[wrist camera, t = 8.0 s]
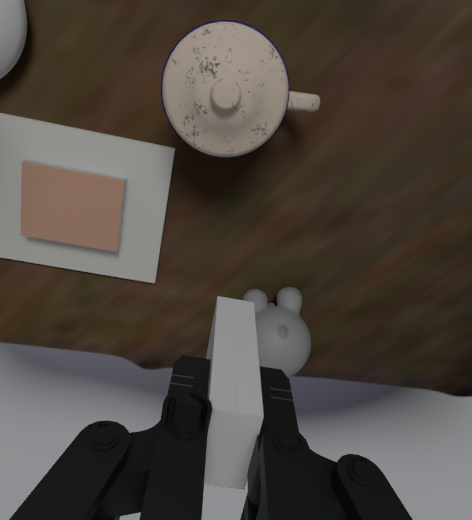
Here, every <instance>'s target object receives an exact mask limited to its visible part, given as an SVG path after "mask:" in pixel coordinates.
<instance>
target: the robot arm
mask: <svg viewBox="0 0 472 520" xmlns="http://www.w3.org/2000/svg"><path fill="white" fill-rule="evenodd" d="M247 478H248V493H247V497H246V501H245V504H244V508H243V512H242V516H241V520H412V518H411V517H410V515H409V514H408V512H407V510H406V509H405V507H404V506H403V504H402V502H401V501H400V499H399V498H398V496H397V495H396V493H395V491H394V490H393V488H392V487H391V485H390V484H389V482H388V480H387V479H386V477H385V476H384V474H383V473H382V472H381V470H380V469H379V468H378V467H377V466H376V465H375V464H374V463H373V462H371V461H370V460H369V459H367V458H365V457H362V456H360V455H353V454H348V455H344V456H342V457H341V458H340V459H339V460H338V461H337V462H334V461H332V460H329V459H327V458H325V457H322V456H320V455H318V454H316V453H315V452H313V451H312V450H311V449H309V446H308V444H307V441H306V439H305V438H304V437H303V436H302V435H301V434H300V433H299V430H298V425H297V419H296V414H295V408H294V403H293V397H292V392H291V386H290V382H289V379H288V377H287V376H286V375H285V373H284V372H283V371H282V370H281V369H275V368H268V367H262V366H259V356H258V345H257V333H256V322H255V310H254V302H249V301H243V300H237V299H231V298H225V297H219V296H218V297H217V302H216V308H215V313H214V318H213V323H212V329H211V334H210V339H209V344H208V350H207V357H206V359H204V358H197V357H191V356H184V355H182V356H181V357H180V358H179V359H178V360H177V361H176V362H175V363H174V367H173V372H172V377H171V381H170V386H169V390H168V395H167V396H166V398H165V400H164V402H163V409H162V415H161V420H160V421H159V423H158V424H156V425H155V426H154V427H152V428H150V429H147V430H144V431H140V432H132V433H129V432H128V430H127V429H126V428H125V427H124V426H123V425H121V424H119V423H117V422H113V421H98V422H95V423H93V424H90V425H88V426H87V427H85V428H84V429H83V430H82V431H81V432H80V433H79V434H78V436H77V437H76V438H75V439H74V441H73V442H72V443H71V444H70V445H69V447H68V448H67V449H66V450H65V452H64V453H63V454H62V455H61V457H60V458H59V459H58V460H57V462H56V463H55V464H54V465H53V466H52V468H51V469H50V470H49V471H48V473H47V474H46V475H45V476H44V477H43V479H42V480H41V481H40V482H39V484H38V485H37V486H36V487H35V489H34V490H33V491H32V492H31V494H30V495H29V496H28V497H27V498H26V500H25V501H24V502H23V503H22V505H21V506H20V507H19V508H18V510H17V511H16V512H15V513H14V515H13V516H12V517H11V518H10V519H9V520H119V519H120V516H123V515H128V514H133V513H139V512H141V516H140V520H201V516H202V503H203V488H204V484H207V485H214V486H221V487H229V488H236V489H245V485H246V482H247Z"/></svg>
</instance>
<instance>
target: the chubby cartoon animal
mask: <svg viewBox="0 0 472 520" xmlns="http://www.w3.org/2000/svg"><path fill="white" fill-rule="evenodd" d="M242 300H243V301H249V302H254V310H255V322H256V333H257V345H258V356H259V366H262V367H268V368H275V369H281V370H282V371H283V372H284V373H285V375H286V376H287V377H288V378H289V377H290V376H292V375H294V374H295V373H297V372H298V371H299V370H300V369H301V368H302V367H303V366H304V364H305V363H306V361H307V359H308V357H309V354H310V349H311V338H310V333H309V330H308V328H307V326H306V324H305V322H304V321H303V320H302V319H301V317H300V315H299V312H300V309H301V306H302V295H301V293H300V291H299V290H297V289H296V288H293V287H286V288H283V289H281V290H279V291H278V293H277V298H276V300H277V306H275V305H274V304H273V303H269V304H268V300H267V296H266V294H265V293H264V292H263V291H261V290H258V289H251V290H249V291H247V292H246V293H245V294H244V295H243V298H242Z"/></svg>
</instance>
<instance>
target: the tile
mask: <svg viewBox="0 0 472 520" xmlns="http://www.w3.org/2000/svg"><path fill="white" fill-rule="evenodd" d="M127 179H128V178H126V177H121V176H116V175H111V174H106V173H100V172H95V171H90V170H85V169H80V168H74V167H69V166H64V165H59V164H54V163H49V162H43V161H38V160H33V159H27V160H25V161H23V162H22V174H21V235H23V236H28V237H34V238H40V239H46V240H51V241H57V242H63V243H69V244H74V245H80V246H86V247H91V248H97V249H103V250H109V251H114V252H117V250H118V249H119V247H120V242H121V233H122V224H123V215H124V206H125V197H126V188H127Z"/></svg>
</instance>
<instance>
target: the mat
mask: <svg viewBox="0 0 472 520" xmlns="http://www.w3.org/2000/svg"><path fill="white" fill-rule="evenodd" d="M174 153H175V148H172V147H167V146H162V145H157V144H152V143H147V142H142V141H138V140H133V139H128V138H123V137H118V136H113V135H108V134H103V133H98V132H93V131H88V130H83V129H78V128H73V127H69V126H64V125H59V124H54V123H49V122H44V121H39V120H34V119H29V118H24V117H19V116H14V115H9V114H4V113H0V257H1V258H7V259H13V260H19V261H25V262H31V263H36V264H42V265H48V266H54V267H60V268H66V269H72V270H78V271H84V272H90V273H96V274H102V275H108V276H114V277H120V278H125V279H131V280H137V281H143V282H149V283H155V281H156V275H157V268H158V261H159V254H160V248H161V241H162V234H163V227H164V221H165V214H166V207H167V200H168V194H169V187H170V180H171V174H172V167H173V160H174ZM27 159H33V160H38V161H43V162H49V163H54V164H59V165H64V166H69V167H74V168H80V169H85V170H90V171H95V172H100V173H106V174H111V175H116V176H121V177H126V178H128V179H127V188H126V197H125V206H124V215H123V224H122V233H121V242H120V247H119V249H118V250H117V252H114V251H109V250H103V249H97V248H91V247H86V246H80V245H74V244H69V243H63V242H57V241H51V240H46V239H40V238H34V237H28V236H23V235H21V174H22V162H23V161H25V160H27Z"/></svg>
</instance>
